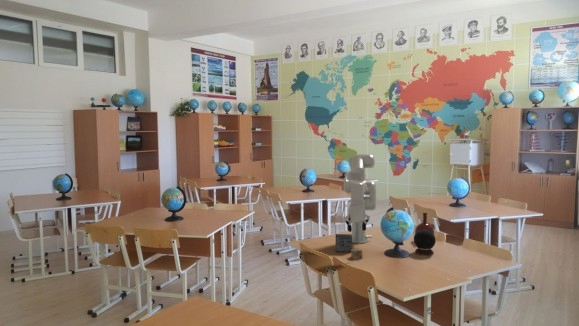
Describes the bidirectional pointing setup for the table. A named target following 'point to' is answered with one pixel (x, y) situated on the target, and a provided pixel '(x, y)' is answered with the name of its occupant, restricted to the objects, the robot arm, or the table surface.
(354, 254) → the walnut cube
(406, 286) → the table surface
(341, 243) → the small box
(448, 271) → the table surface
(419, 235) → the black round ball
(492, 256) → the table surface
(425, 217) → the round-bottom flask
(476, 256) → the table surface
